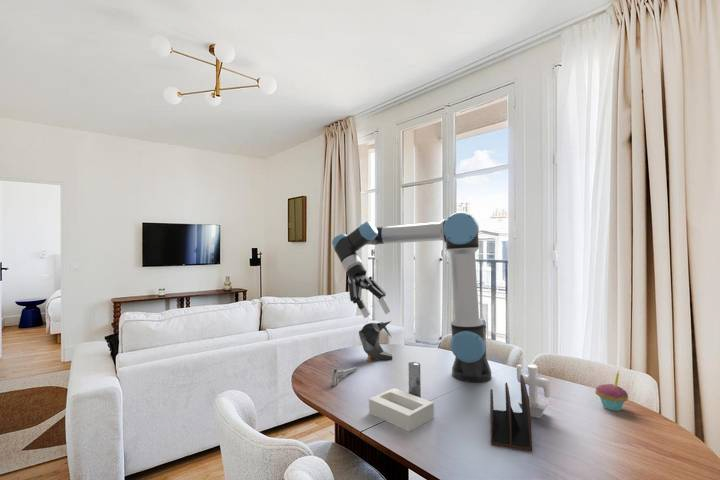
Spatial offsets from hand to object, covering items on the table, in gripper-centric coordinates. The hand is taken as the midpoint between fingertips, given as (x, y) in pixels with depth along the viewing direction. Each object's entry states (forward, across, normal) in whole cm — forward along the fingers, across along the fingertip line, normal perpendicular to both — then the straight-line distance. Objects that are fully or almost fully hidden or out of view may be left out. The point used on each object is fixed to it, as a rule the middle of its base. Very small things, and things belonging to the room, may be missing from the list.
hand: (378, 314), depth 137 cm
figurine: (+52, -11, +27) cm, 60 cm away
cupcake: (+62, -30, +43) cm, 81 cm away
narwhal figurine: (+10, -24, -30) cm, 40 cm away
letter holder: (+51, +4, +24) cm, 56 cm away
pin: (+32, +2, -1) cm, 32 cm away
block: (+34, +15, 0) cm, 37 cm away
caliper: (+13, +1, -28) cm, 31 cm away
